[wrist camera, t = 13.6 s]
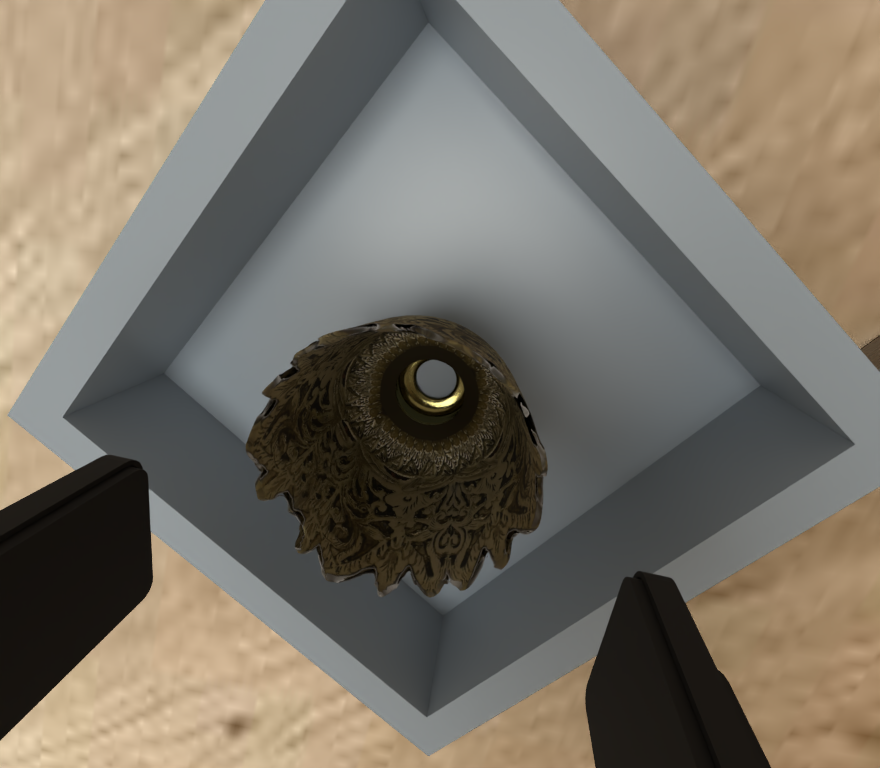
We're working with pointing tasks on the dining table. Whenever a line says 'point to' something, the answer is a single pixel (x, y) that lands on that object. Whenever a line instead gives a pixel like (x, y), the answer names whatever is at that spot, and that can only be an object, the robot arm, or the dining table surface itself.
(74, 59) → the dining table surface
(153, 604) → the dining table surface
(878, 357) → the square metal frame
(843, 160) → the dining table surface
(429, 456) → the dark bronze rounded piece
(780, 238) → the dining table surface
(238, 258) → the bin
